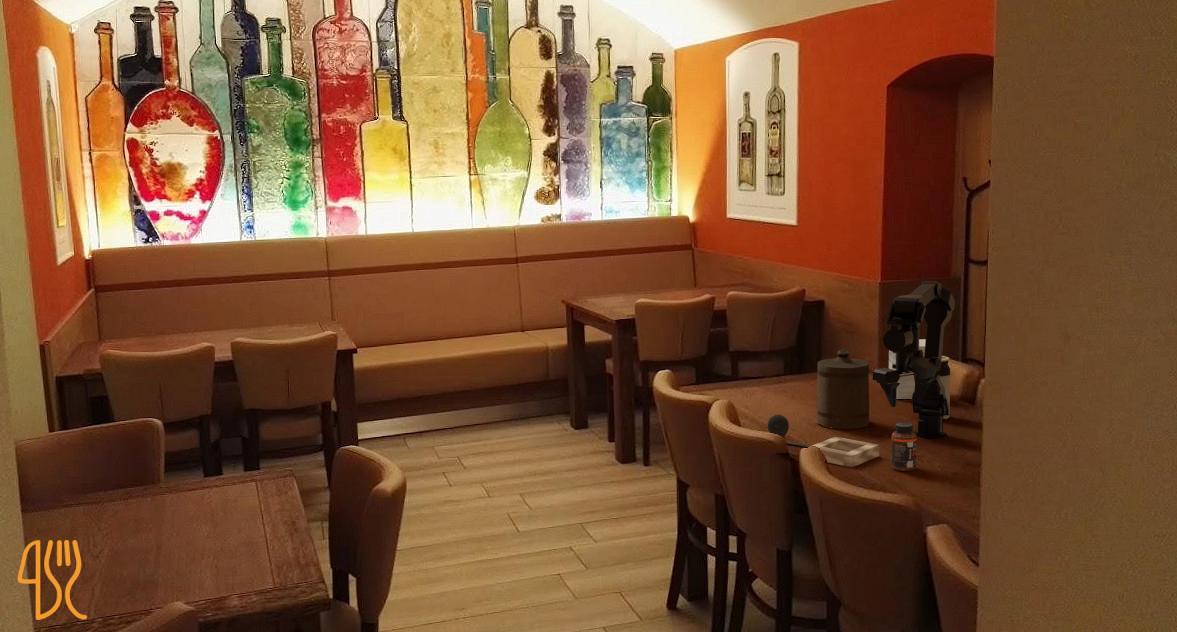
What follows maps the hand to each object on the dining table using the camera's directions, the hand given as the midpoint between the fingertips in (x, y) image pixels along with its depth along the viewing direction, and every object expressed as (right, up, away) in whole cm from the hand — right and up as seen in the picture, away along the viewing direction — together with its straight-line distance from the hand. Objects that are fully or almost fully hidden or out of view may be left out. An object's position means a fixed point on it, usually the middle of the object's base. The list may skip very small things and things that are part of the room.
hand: (906, 404), depth 266 cm
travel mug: (+20, -7, +37) cm, 43 cm away
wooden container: (-8, -9, +35) cm, 36 cm away
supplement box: (+22, -3, +66) cm, 70 cm away
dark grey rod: (-24, -12, +11) cm, 29 cm away
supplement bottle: (-4, -15, -11) cm, 19 cm away
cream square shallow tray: (-16, -14, +1) cm, 21 cm away
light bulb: (-32, -13, +8) cm, 35 cm away
